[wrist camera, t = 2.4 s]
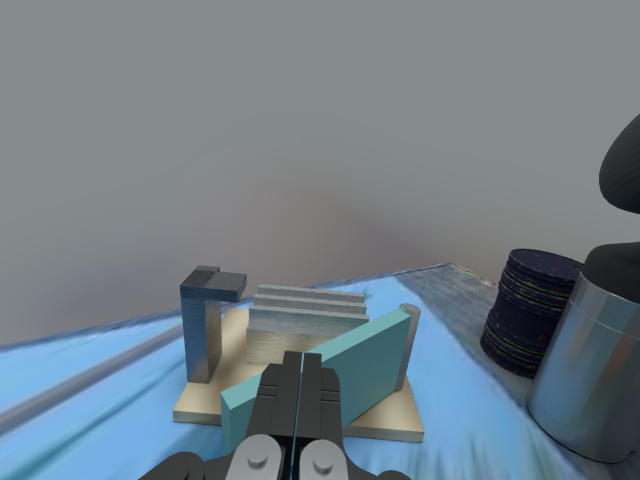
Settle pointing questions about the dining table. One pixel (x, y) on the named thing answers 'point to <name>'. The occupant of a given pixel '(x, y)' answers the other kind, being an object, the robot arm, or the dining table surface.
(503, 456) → the dining table surface
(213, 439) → the dining table surface
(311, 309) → the cooler block
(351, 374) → the teal upright panel
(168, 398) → the dining table surface
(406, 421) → the mounting board
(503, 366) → the storage jar
